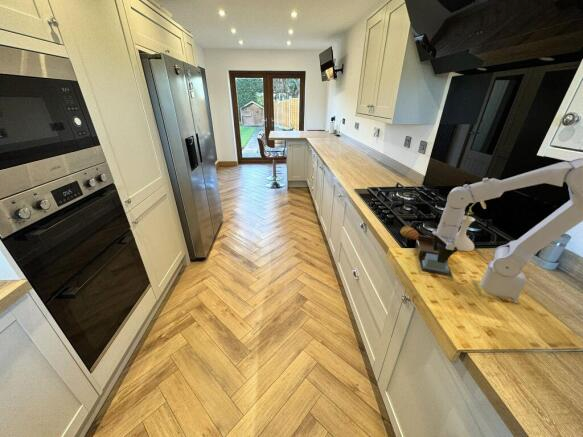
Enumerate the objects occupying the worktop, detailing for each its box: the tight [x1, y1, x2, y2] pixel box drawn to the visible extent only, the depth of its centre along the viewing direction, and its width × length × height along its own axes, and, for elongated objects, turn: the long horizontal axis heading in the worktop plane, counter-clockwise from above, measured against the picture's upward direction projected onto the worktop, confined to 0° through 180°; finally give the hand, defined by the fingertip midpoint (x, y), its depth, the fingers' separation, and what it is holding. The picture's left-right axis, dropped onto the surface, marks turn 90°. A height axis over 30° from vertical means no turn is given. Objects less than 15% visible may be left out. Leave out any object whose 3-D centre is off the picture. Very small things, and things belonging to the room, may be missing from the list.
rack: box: [414, 234, 454, 278], centre depth 90 cm, size 10×18×6 cm, turn 161°
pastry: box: [399, 225, 421, 241], centre depth 108 cm, size 9×7×4 cm
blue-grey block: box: [422, 253, 450, 273], centre depth 86 cm, size 8×4×4 cm, turn 71°
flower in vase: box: [455, 200, 487, 252], centre depth 97 cm, size 13×11×25 cm
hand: (438, 256), depth 85 cm, fingers open, 7 cm apart
